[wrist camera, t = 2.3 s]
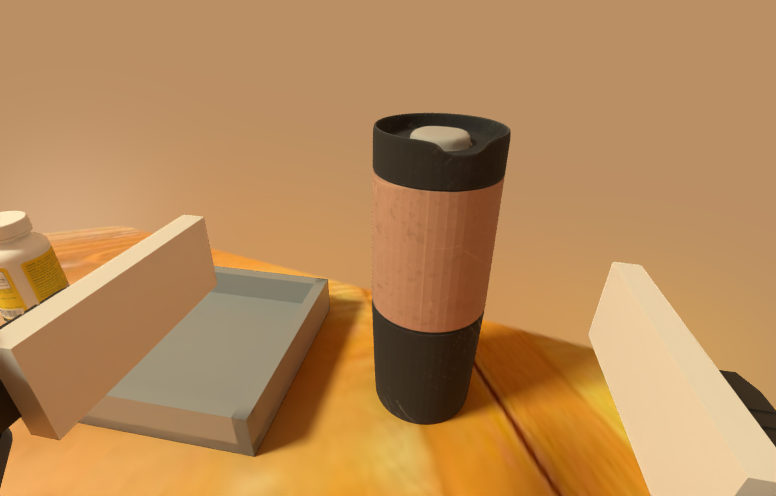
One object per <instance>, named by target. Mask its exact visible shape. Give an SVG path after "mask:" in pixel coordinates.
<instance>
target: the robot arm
mask: <svg viewBox="0 0 776 496" xmlns="http://www.w3.org/2000/svg"><path fill="white" fill-rule="evenodd" d="M217 285H218V284H217V279H216V274H215V269H214V265H213V260H212V255H211V250H210V245H209V240H208V235H207V230H206V225H205V220H204V217H199V216H191V215H182V216H181V217H179V218H177V219H176V220H174V221H173V222H171V223H169V224H168V225H166V226H165V227H163V228H161V229H160V230H158V231H157V232H155V233H153V234H152V235H150V236H149V237H147V238H145V239H144V240H142V241H141V242H139V243H137V244H136V245H134V246H133V247H131V248H129V249H128V250H126V251H125V252H123V253H121V254H120V255H118V256H117V257H115V258H113V259H112V260H110V261H109V262H107V263H106V264H104V265H102V266H101V267H99V268H98V269H96V270H94V271H93V272H91V273H90V274H88V275H86V276H85V277H83V278H82V279H80V280H78V281H77V282H75V283H74V284H72V285H70V286H68V287H65V288H63V289H60V290H58V291H56V292H55V293H53V294H52V295H50V296H48V297H47V298H45V299H44V300H42V301H40V303H39V305H37V304H36V305H34V306H32V307H31V308H29V309H27V310H26V311H24V314H19V315H18V316H16V317H15V318H13V319H11V320H10V321H8V322H6V323H5V324H3V325H2V326H0V487H1V483H2V479H3V475H4V471H5V468H6V464H7V460H8V456H9V452H10V448H11V445H12V441H13V440H12V433H11V431H10V429H9V428H8V427H9V426H11V425H12V424H13V423H14V422H15V421H16V420H18V419H19V418H20V417H21V418H22V420H23V421H24V423H25V425H26V426H27V428H28V430H29V431H30V433H31V435H36V436H41V437H46V438H51V439H56V440H61V439H62V438H63V437H64V436H65V435H66V434H67V433H68V432H69V431H70V430H71V429H72V428H73V427H74V426H75V425H76V424H77V423H78V422H79V421H80V420H81V419H82V418H83V417H84V416H85V415H86V414H87V413H88V412H89V411H90V410H91V409H92V408H93V407H94V406H95V405H96V404H97V403H98V402H99V401H100V400H101V399H102V398H103V397H104V396H105V395H106V394H107V393H108V392H109V391H110V390H111V389H112V388H113V387H114V386H115V385H116V384H117V383H118V382H119V381H120V380H121V379H122V378H123V377H124V376H125V375H127V374H128V373H129V372H130V371H131V370H132V369H133V368H134V367H135V366H136V365H137V364H138V363H139V362H140V361H141V360H142V359H143V358H144V357H145V356H146V355H147V354H148V353H149V352H150V351H151V350H152V349H153V348H154V347H155V346H156V345H157V344H158V343H159V342H160V341H161V340H162V339H163V338H164V337H165V336H166V335H167V334H168V333H169V332H170V331H171V330H172V329H173V328H174V327H175V326H176V325H177V324H178V323H179V322H180V321H181V320H182V319H183V318H184V317H185V316H186V315H187V314H188V313H189V312H190V311H191V310H192V309H193V308H194V307H195V306H196V305H197V304H198V303H199V302H200V301H201V300H202V299H203V298H204V297H205V296H206V295H207V294H208V293H209V292H211V291H212V290H213V289H214V288H215V287H216V286H217ZM588 336H589V339H590V341H591V344H592V346H593V349H594V352H595V354H596V357H597V359H598V362H599V364H600V367H601V369H602V372H603V375H604V377H605V380H606V382H607V385H608V387H609V390H610V392H611V395H612V398H613V400H614V403H615V405H616V408H617V410H618V413H619V415H620V418H621V420H622V423H623V426H624V428H625V431H626V433H627V436H628V438H629V441H630V443H631V446H632V449H633V451H634V454H635V456H636V459H637V461H638V464H639V466H640V469H641V472H642V474H643V477H644V479H645V482H646V484H647V487H648V489H649V492H650V495H651V496H776V410H775V409H774V408H773V407H772V405H771V404H770V403H769V402H768V400H767V399H766V398H765V397H764V395H763V394H762V393H761V392H760V391H759V390H758V389H756V388H755V387H754V386H752V385H751V384H750V383H749V382H747V381H746V380H745V379H743V378H742V377H741V376H740V375H738V374H737V373H736V372H729V371H722V370H718V369H717V367H716V366H715V365H714V363H713V362H712V361H711V359H710V358H709V357H708V355H707V354H706V352H705V351H704V350H703V348H702V347H701V346H700V344H699V343H698V342H697V340H696V339H695V338H694V336H693V335H692V333H691V332H690V331H689V330H688V328H687V327H686V326H685V324H684V323H683V321H682V320H681V319H680V317H679V316H678V315H677V313H676V312H675V311H674V309H673V308H672V306H671V305H670V304H669V302H668V301H667V300H666V299H665V297H664V296H663V294H662V293H661V292H660V290H659V289H658V288H657V286H656V285H655V283H654V282H653V281H652V280H651V278H650V277H649V275H648V274H647V273H646V271H645V270H644V269H643V267H642V266H641V265H637V264H628V263H619V262H613V263H612V266H611V269H610V272H609V275H608V278H607V280H606V284H605V286H604V289H603V292H602V295H601V298H600V301H599V304H598V307H597V310H596V312H595V316H594V318H593V321H592V324H591V327H590V330H589V333H588Z"/></svg>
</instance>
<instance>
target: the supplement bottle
mask: <svg viewBox="0 0 776 496" xmlns="http://www.w3.org/2000/svg"><path fill="white" fill-rule="evenodd" d="M31 230H32V224H31V222H30V220H29V218H28V216H27V214H26V213H25V212H21V211H7V212H0V313H1V315H2V316H3V318H4V320H5V321H6V322H8V321H10V320H11V319H13V318H15V317H16V316H18V315H19V314H24V311H26V310H27V309H29V308H31V307H32V306H34V305H36V304H37V305H39V303H40V301H42V300H44V299H45V298H47V297H48V296H50V295H52V294H53V293H55V292H56V291H58V290H60V289H63V288H65V287H68V286H70V285H69V283H68V281H67V278H66V276H65V274H64V272H63V270H62V268H61V265H60V263H59V261H58V259H57V257H56V255H55V252H54V250H53V248H52V246H51V244H50V242H49V240H48V239H47V237H45V236H44V235H42V234H40V233H36V232H31Z"/></svg>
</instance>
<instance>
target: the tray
mask: <svg viewBox="0 0 776 496" xmlns="http://www.w3.org/2000/svg"><path fill="white" fill-rule="evenodd" d="M214 269H215V274H216V279H217V284H218V285H217V286H216V287H215V288H214V289H213V290H212V291H211V292H209V293H208V294H207V295H206V296H205V297H204V298H203V299H202V300H201V301H200V302H199V303H198V304H197V305H196V306H195V307H194V308H193V309H192V310H191V311H190V312H189V313H188V314H187V315H186V316H185V317H184V318H183V319H182V320H181V321H180V322H179V323H178V324H177V325H176V326H175V327H174V328H173V329H172V330H171V331H170V332H169V333H168V334H167V335H166V336H165V337H164V338H163V339H162V340H161V341H160V342H159V343H158V344H157V345H156V346H155V347H154V348H153V349H152V350H151V351H150V352H149V353H148V354H147V355H146V356H145V357H144V358H143V359H142V360H141V361H140V362H139V363H138V364H137V365H136V366H135V367H134V368H133V369H132V370H131V371H130V372H129V373H128V374H127V375H125V376H124V377H123V378H122V379H121V380H120V381H119V382H118V383H117V384H116V385H115V386H114V387H113V388H112V389H111V390H110V391H109V392H108V393H107V394H106V395H105V396H104V397H103V398H102V399H101V400H100V401H99V402H98V403H97V404H96V405H95V406H94V407H93V408H92V409H91V410H90V411H89V412H88V413H87V414H86V415H85V416H84V417H83V418H82V419H81V420H80V421H79V422H78V423H83V424H88V425H93V426H98V427H104V428H109V429H114V430H119V431H124V432H129V433H135V434H140V435H145V436H150V437H155V438H160V439H166V440H171V441H176V442H181V443H186V444H192V445H197V446H202V447H207V448H212V449H217V450H223V451H228V452H233V453H238V454H243V455H249V456H255V454H256V452H257V450H258V448H259V447H260V445H261V443H262V441H263V439H264V437H265V435H266V433H267V431H268V429H269V427H270V425H271V423H272V421H273V419H274V417H275V415H276V413H277V411H278V409H279V407H280V405H281V403H282V402H283V400H284V398H285V396H286V394H287V392H288V390H289V388H290V386H291V384H292V382H293V380H294V378H295V376H296V374H297V372H298V370H299V368H300V366H301V364H302V362H303V360H304V358H305V357H306V355H307V353H308V351H309V349H310V347H311V345H312V343H313V341H314V339H315V337H316V335H317V333H318V331H319V329H320V327H321V325H322V323H323V321H324V319H325V317H326V315H327V314H328V312H329V310H330V304H329V289H328V279H321V278H312V277H304V276H295V275H287V274H278V273H270V272H261V271H253V270H244V269H236V268H227V267H218V266H214Z"/></svg>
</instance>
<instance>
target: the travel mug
mask: <svg viewBox="0 0 776 496" xmlns="http://www.w3.org/2000/svg"><path fill="white" fill-rule="evenodd" d="M509 143H510V129H509V128H508V127H507V126H506V125H504V124H502V123H500V122H497V121H494V120H491V119H486V118H482V117H475V116H469V115H460V114H448V113H412V114H401V115H394V116H390V117H386V118H382V119H380V120H378V121H377V122H376V123H375V124H374V128H373V208H372V209H373V210H372V213H373V215H372V218H373V219H372V312H373V336H374V360H375V380H376V390H377V394H378V396H379V399H380V401H381V402H382V404H383V405H384V406H385V408H386V409H387V410H388V411H389V412H391V413H392V414H393V415H395V416H396V417H398V418H400V419H402V420H405V421H407V422H411V423H416V424H434V423H439V422H442V421H445V420H447V419H449V418H451V417H452V416H454V415H455V414H456V413H457V412H458V411H459V410H460V409H461V407H462V406H463V404H464V402H465V399H466V396H467V392H468V387H469V383H470V378H471V373H472V368H473V363H474V358H475V354H476V349H477V344H478V339H479V334H480V329H481V324H482V319H483V314H484V308H485V303H486V296H487V289H488V283H489V275H490V270H491V263H492V256H493V250H494V242H495V236H496V230H497V223H498V216H499V210H500V203H501V196H502V189H503V183H504V176H505V170H506V163H507V157H508V150H509Z"/></svg>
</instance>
